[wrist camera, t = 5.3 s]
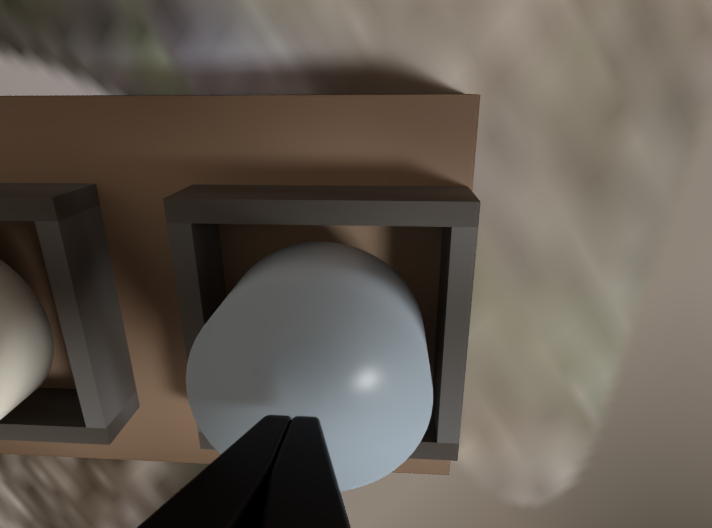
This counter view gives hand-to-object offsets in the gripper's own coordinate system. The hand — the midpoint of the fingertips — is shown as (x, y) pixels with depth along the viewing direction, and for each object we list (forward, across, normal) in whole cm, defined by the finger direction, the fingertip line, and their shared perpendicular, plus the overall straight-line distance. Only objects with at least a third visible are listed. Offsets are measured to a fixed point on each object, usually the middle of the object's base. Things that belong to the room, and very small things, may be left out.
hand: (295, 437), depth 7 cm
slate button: (+3, 0, 0) cm, 3 cm away
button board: (+6, +8, 0) cm, 11 cm away
